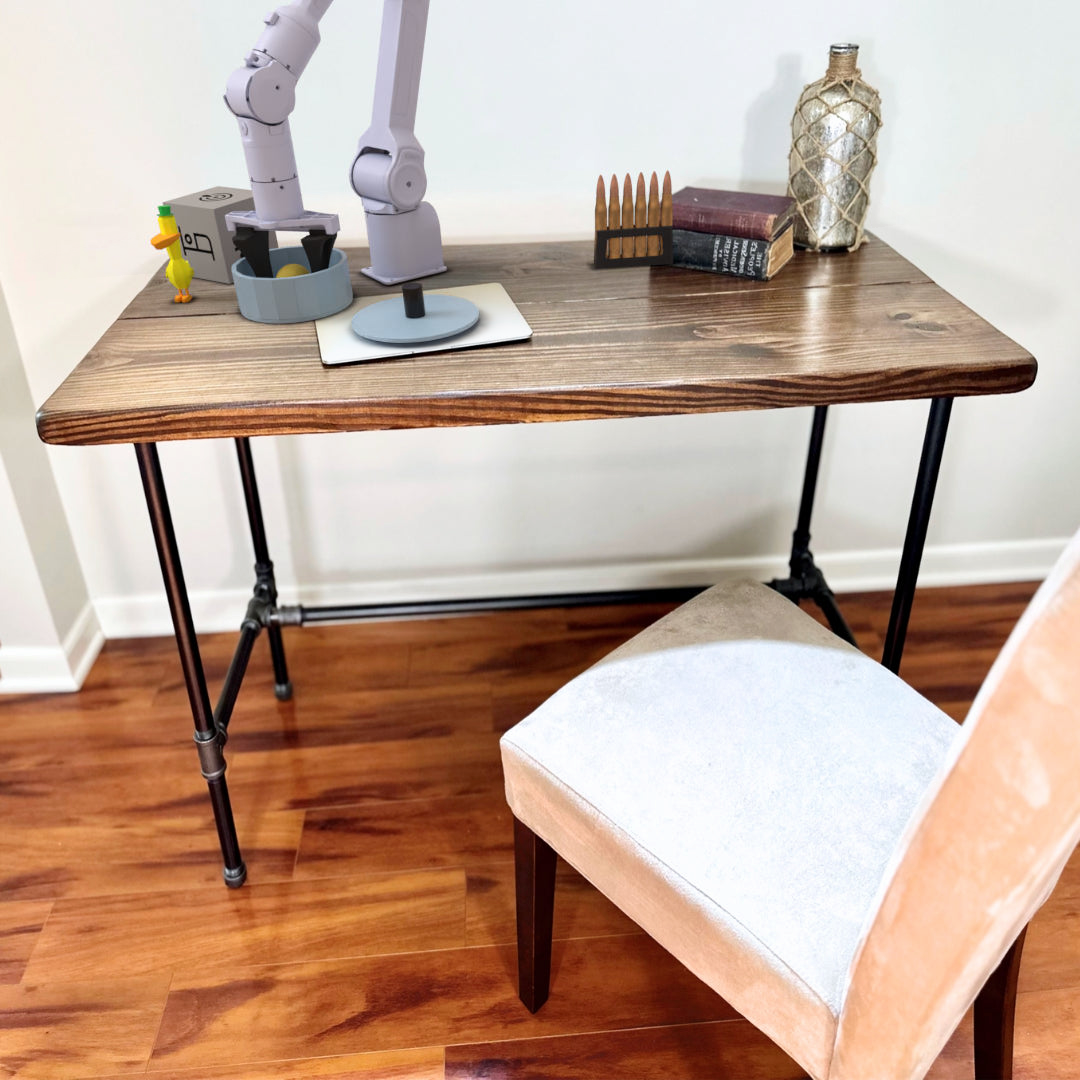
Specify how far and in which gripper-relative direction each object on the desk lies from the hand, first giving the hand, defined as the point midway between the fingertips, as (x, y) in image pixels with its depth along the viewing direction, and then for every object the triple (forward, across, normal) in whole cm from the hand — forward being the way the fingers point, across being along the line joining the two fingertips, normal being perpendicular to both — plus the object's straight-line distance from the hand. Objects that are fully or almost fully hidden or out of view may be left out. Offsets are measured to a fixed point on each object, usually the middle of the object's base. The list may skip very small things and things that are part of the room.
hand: (294, 288), depth 123 cm
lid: (+1, +18, -5) cm, 19 cm away
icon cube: (+2, -17, +12) cm, 21 cm away
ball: (-1, 0, 0) cm, 1 cm away
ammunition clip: (+2, +40, +22) cm, 45 cm away
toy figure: (+2, -16, -1) cm, 16 cm away
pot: (+2, 0, 0) cm, 2 cm away
